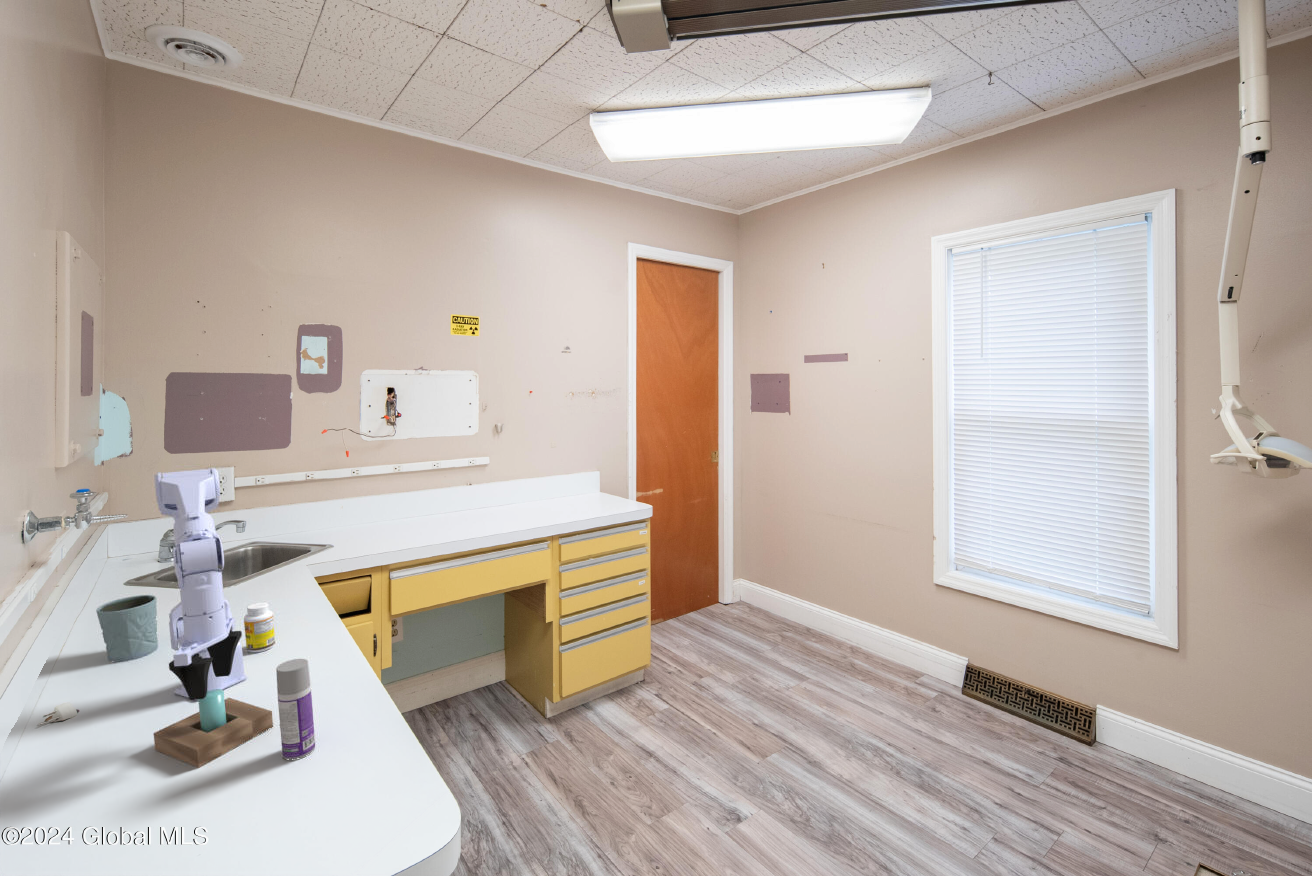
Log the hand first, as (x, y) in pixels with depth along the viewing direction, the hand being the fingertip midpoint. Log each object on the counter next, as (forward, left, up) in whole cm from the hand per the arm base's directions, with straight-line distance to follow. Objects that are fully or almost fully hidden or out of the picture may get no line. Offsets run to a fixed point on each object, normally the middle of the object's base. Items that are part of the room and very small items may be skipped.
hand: (211, 686), depth 102 cm
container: (-3, +17, -10) cm, 20 cm away
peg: (0, 0, -9) cm, 9 cm away
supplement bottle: (-26, -28, -10) cm, 39 cm away
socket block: (0, 0, -9) cm, 9 cm away
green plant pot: (-13, -53, -10) cm, 55 cm away
